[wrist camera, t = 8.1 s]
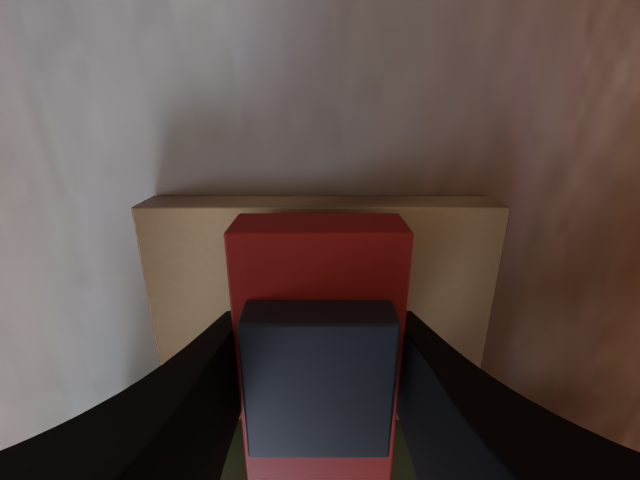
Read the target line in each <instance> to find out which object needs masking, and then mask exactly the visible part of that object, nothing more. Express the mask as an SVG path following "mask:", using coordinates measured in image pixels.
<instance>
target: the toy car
mask: <svg viewBox="0 0 640 480" xmlns="http://www.w3.org/2000/svg"><path fill="white" fill-rule="evenodd" d="M413 239H414V234H413V232H412V230H411V229H410V228H409V226H408V225H407V224H406V222H405V221H404V220H403V218H402V217H401V216H400V214H398V213H240V214H238V216H237V217H236V218H235V219H234V221H233V222H232V223H231V225H230V226H229V227H228V228H227V230H226V231H225V232H224V245H225V255H226V265H227V276H228V286H229V296H230V307H231V317H232V327H233V337H234V347H235V357H236V368H237V378H238V388H239V399H240V409H241V420H242V430H243V440H244V451H245V461H246V471H247V479H248V480H390V479H391V472H392V461H393V450H394V440H395V429H396V419H397V407H398V396H399V386H400V375H401V364H402V354H403V343H404V332H405V323H406V313H407V302H408V292H409V281H410V271H411V260H412V249H413Z"/></svg>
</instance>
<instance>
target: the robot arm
mask: <svg viewBox="0 0 640 480" xmlns="http://www.w3.org/2000/svg"><path fill="white" fill-rule="evenodd" d="M240 413H241V409H240V399H239V388H238V378H237V368H236V357H235V347H234V337H233V327H232V317H231V311H226V312H225V313H224V314H223V315H221V316H220V317H219V318H218V319H217V320H216V321H215V322H213V323H212V324H211V325H210V326H209V327H208V328H207V329H206V330H204V331H203V332H202V333H201V334H200V335H199V336H197V337H196V338H195V339H194V340H193V341H191V342H190V343H189V344H188V345H187V346H186V347H184V348H183V349H182V350H180V351H179V352H178V353H176V354H175V355H174V356H173V357H171V358H170V359H169V360H167V361H166V362H165V363H163V364H162V365H161V366H160V367H158V368H157V369H155V370H154V371H153V372H151V373H150V374H148V375H147V376H145V377H144V378H142V379H141V380H139V381H137V382H136V383H134V384H133V385H131V386H130V387H128V388H127V389H125V390H123V391H122V392H120V393H118V394H116V395H115V396H113V397H111V398H109V399H107V400H106V401H104V402H102V403H100V404H98V405H97V406H95V407H93V408H91V409H89V410H88V411H86V412H84V413H82V414H80V415H78V416H76V417H74V418H72V419H70V420H68V421H66V422H64V423H62V424H60V425H58V426H56V427H54V428H52V429H49V430H47V431H45V432H43V433H41V434H39V435H36V436H34V437H32V438H30V439H27V440H25V441H23V442H21V443H18V444H16V445H13V446H11V447H8V448H6V449H3V450H1V451H0V480H220V479H221V475H222V471H223V468H224V465H225V461H226V458H227V455H228V452H229V449H230V445H231V442H232V439H233V436H234V433H235V430H236V426H237V423H238V420H239V417H240ZM397 415H398V418H399V422H400V425H401V428H402V431H403V435H404V438H405V441H406V444H407V448H408V451H409V454H410V457H411V461H412V464H413V467H414V470H415V474H416V478H417V480H640V452H637V451H635V450H632V449H630V448H627V447H625V446H622V445H620V444H617V443H615V442H613V441H611V440H608V439H606V438H604V437H602V436H600V435H597V434H595V433H593V432H591V431H589V430H587V429H584V428H582V427H580V426H578V425H576V424H574V423H572V422H570V421H568V420H566V419H564V418H562V417H560V416H558V415H556V414H554V413H552V412H551V411H549V410H547V409H545V408H543V407H541V406H539V405H538V404H536V403H534V402H532V401H530V400H529V399H527V398H525V397H523V396H522V395H520V394H518V393H517V392H515V391H513V390H512V389H510V388H509V387H507V386H506V385H504V384H502V383H501V382H499V381H498V380H496V379H495V378H493V377H492V376H490V375H489V374H487V373H486V372H484V371H483V370H482V369H480V368H479V367H478V366H476V365H475V364H474V363H472V362H471V361H470V360H468V359H467V358H466V357H464V356H463V355H462V354H460V353H459V352H458V351H457V350H455V349H454V348H453V347H452V346H451V345H449V344H448V343H447V342H446V341H445V340H443V339H442V338H441V337H440V336H439V335H438V334H437V333H435V332H434V331H433V330H432V329H431V328H430V327H429V326H428V325H426V324H425V323H424V322H423V321H422V320H421V319H420V318H419V317H418V316H416V315H415V314H414V313H413V312H412V311H407V313H406V323H405V332H404V343H403V354H402V364H401V375H400V386H399V396H398V407H397Z"/></svg>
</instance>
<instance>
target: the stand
mask: <svg viewBox="0 0 640 480" xmlns="http://www.w3.org/2000/svg"><path fill="white" fill-rule="evenodd" d="M240 213H398V214H400V216H401V217H402V218H403V220H404V221H405V222H406V224H407V225H408V226H409V228H410V229H411V230H412V232H413V234H414V239H413V249H412V260H411V271H410V281H409V292H408V302H407V311H412V312H413V313H414V314H415V315H416V316H418V317H419V318H420V319H421V320H422V321H423V322H424V323H425V324H426V325H428V326H429V327H430V328H431V329H432V330H433V331H434V332H435V333H437V334H438V335H439V336H440V337H441V338H442V339H443V340H445V341H446V342H447V343H448V344H449V345H451V346H452V347H453V348H454V349H455V350H457V351H458V352H459V353H460V354H462V355H463V356H464V357H466V358H467V359H468V360H470V361H471V362H472V363H474V364H475V365H476V366H478V367H479V368H481V363H482V358H483V352H484V347H485V342H486V336H487V331H488V326H489V320H490V315H491V310H492V304H493V299H494V294H495V288H496V283H497V278H498V272H499V267H500V261H501V256H502V251H503V245H504V240H505V235H506V229H507V224H508V219H509V213H510V207H508V206H506V205H504V204H502V203H500V202H498V201H496V200H495V199H493V198H491V197H489V196H153V197H151V198H149V199H147V200H145V201H143V202H141V203H139V204H137V205H135V206H133V207H132V215H133V220H134V226H135V231H136V236H137V242H138V247H139V253H140V258H141V263H142V269H143V274H144V280H145V285H146V290H147V296H148V301H149V307H150V312H151V317H152V323H153V328H154V334H155V339H156V345H157V350H158V355H159V361H160V366H161V365H162V364H163V363H165V362H166V361H167V360H169V359H170V358H171V357H173V356H174V355H175V354H176V353H178V352H179V351H180V350H182V349H183V348H184V347H186V346H187V345H188V344H189V343H190V342H191V341H193V340H194V339H195V338H196V337H197V336H199V335H200V334H201V333H202V332H203V331H204V330H206V329H207V328H208V327H209V326H210V325H211V324H212V323H213V322H215V321H216V320H217V319H218V318H219V317H220V316H221V315H223V314H224V313H225V312H226V311H231V307H230V296H229V286H228V276H227V265H226V255H225V245H224V232H225V231H226V230H227V228H228V227H229V226H230V225H231V223H232V222H233V221H234V219H235V218H236V217H237V216H238V214H240ZM239 419H241V413H240V417H239ZM396 420H399V418H398V415H397V419H396Z"/></svg>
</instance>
